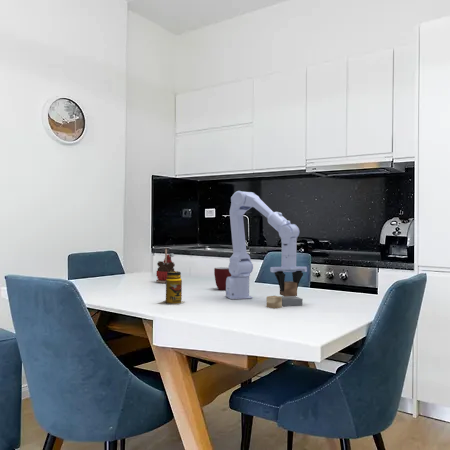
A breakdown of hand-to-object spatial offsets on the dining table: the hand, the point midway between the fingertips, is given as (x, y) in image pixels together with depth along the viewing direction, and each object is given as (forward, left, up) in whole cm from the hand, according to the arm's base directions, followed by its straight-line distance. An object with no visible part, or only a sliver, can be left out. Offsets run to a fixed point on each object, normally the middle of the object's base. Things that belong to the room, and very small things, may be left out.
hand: (288, 290), depth 180 cm
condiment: (-43, +13, -5) cm, 45 cm away
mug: (-14, +44, -5) cm, 46 cm away
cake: (-35, +74, -5) cm, 82 cm away
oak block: (-8, -5, -5) cm, 11 cm away
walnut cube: (0, 0, -2) cm, 2 cm away
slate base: (0, 0, -5) cm, 5 cm away
